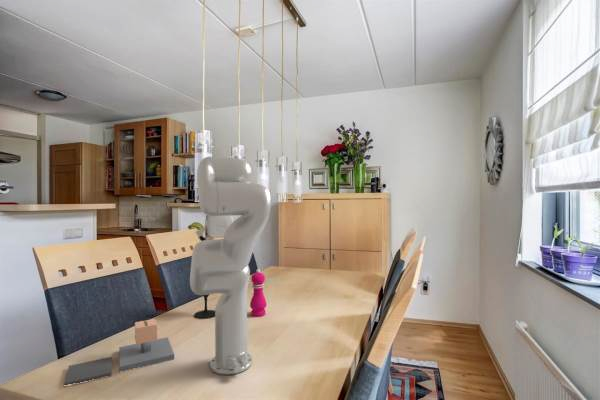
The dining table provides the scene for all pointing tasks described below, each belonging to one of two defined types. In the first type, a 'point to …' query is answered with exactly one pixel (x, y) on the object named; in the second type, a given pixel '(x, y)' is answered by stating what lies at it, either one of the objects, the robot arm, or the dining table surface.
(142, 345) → the post
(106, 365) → the pad
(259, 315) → the pepper mill
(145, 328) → the tan slotted box
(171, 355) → the stand
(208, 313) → the wine glass
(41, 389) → the dining table surface
